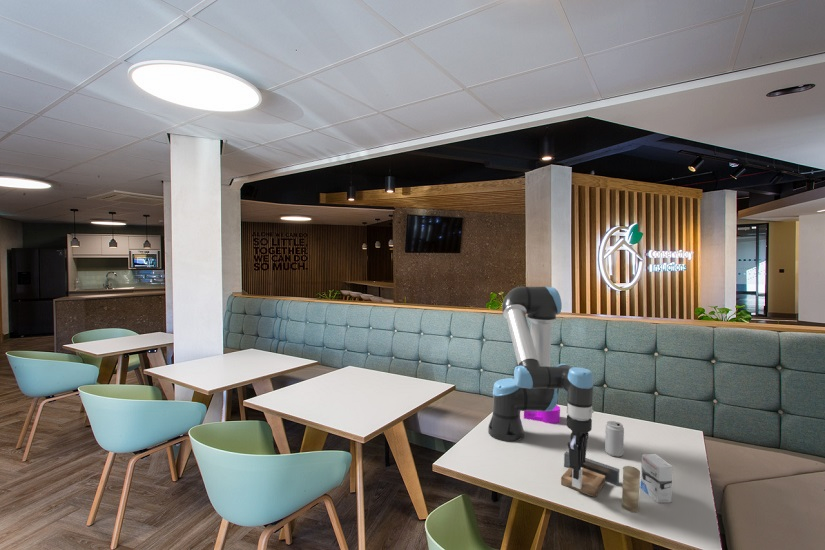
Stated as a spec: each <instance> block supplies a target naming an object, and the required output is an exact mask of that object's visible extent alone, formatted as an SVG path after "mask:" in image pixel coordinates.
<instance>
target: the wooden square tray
mask: <svg viewBox="0 0 825 550" xmlns="http://www.w3.org/2000/svg"><path fill="white" fill-rule="evenodd" d="M560 480H561V481H560V483H561V485H563V486H565V487H568V488H570V489H573V490H575V491H578V492H580V493H583V494H586V495H588V496H591V497H593V498H596V497H597V496H598V494H599V493H600V491H602V488H603V487H604V485H606V482H605V475H602V474H599V473H596V472H593V471H590V470H588V469H585V468H583V469H582V488H581V489H578V488H576V487H573V486H572V468H567V470H566V471H565V472H564V473H563V474H562V475H561V477H560Z"/></svg>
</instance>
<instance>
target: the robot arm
mask: <svg viewBox="0 0 825 550" xmlns="http://www.w3.org/2000/svg"><path fill="white" fill-rule="evenodd" d="M562 307H563V306H562V299H561V295H560V293H559V291H558V290H557V289H556V288H555V287H553V286H552V287H551V286H516V287H514V288H512V289H511V290H509V292H508V293H507V294H506V295H505V297H504V298H503V301H502V306H501V310H502V316H503V318H504V319H505V320H506V321H507V327H508V329H509V334H510V338H511V341H512V345H513V350H514V354H515V359H516V362H517V363H516V364H517V366H515V368H514V371H513V378H512V377H508V378H507V377H506V378H502V379H499V380H496V381H495V382H494V384H493V389H492V416H491V419H490V422H489V424H488V427H487V428H488V429H487V431H488V434H489V435H490V436H491V437H492V438H494V439H496V440H498V441H499V440H500V441H503V442H504V441H505V442H517V441H520V440H522V439H523V438H524V435H525V434H524V433H525V430H524V426H523V422H522V420H521V412H524V411H542V412H544V411H552V410H553V409H554V408H555V407H556V405H557V404H558V400H559V394H558V390H559V389H560V390H562V389H563V390H565V391H566V392H567V401H566V402H567V403H566V404H567V405H566V414H567V415H566V427H567V428H568V429H569V430H571V433H570V441H569V442H567V447H568V452H569V459H570V468H572V486H573V487H576V488H578V489H581V488H582V469H583V468H585V467H586V465H583V463H585V458H587V457H586V455H587V446H588V439H589V433H590V432H591V431H592V425H593V423H592V422H593V420H592V418H593V413H594V412H595V411H594V409H593V398H594V397H593V396H594V383H595V382H594V373H593V372H592V370H590V369H587V368H586V367H585V368H584V367H577V366H576V367H572V366H570V365H569V364H567V363H559V364H557V365H555V366H551V354H552V353H551V349H552V346H551V345H552V325H553V323H554V322H555V321H556V319H557V315H559V314H560V315H561V312H562V309H563V308H562ZM527 319H528V320H529V321H530V326H529V323H528V320H527ZM582 467H583V468H582Z"/></svg>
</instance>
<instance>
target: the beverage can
mask: <svg viewBox="0 0 825 550" xmlns="http://www.w3.org/2000/svg"><path fill="white" fill-rule="evenodd" d="M624 434H625V428H624V425H623V424H622V423H621V422H618V421H614V420H613V421H612V420H609V421H607V422H606V424H605V436H604V437H605V439H604V450H605V452H606V453H607V455H610V456H612V457H616V458H617V457H621V456H623V455H624V439H625V435H624Z"/></svg>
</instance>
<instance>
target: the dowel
mask: <svg viewBox="0 0 825 550" xmlns="http://www.w3.org/2000/svg"><path fill="white" fill-rule="evenodd" d="M622 470H623V471H622V473H623V474H622V491H621V493H622V495H621V507H622V508H623V510H625V511H627V512H630V513H637V512H639V509H640V508H639V506H640V505H639V504H640V503H639V502H640V486H641V471H640V469H638V468H637V467H634V466H631V465H624V466H623V468H622Z"/></svg>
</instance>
